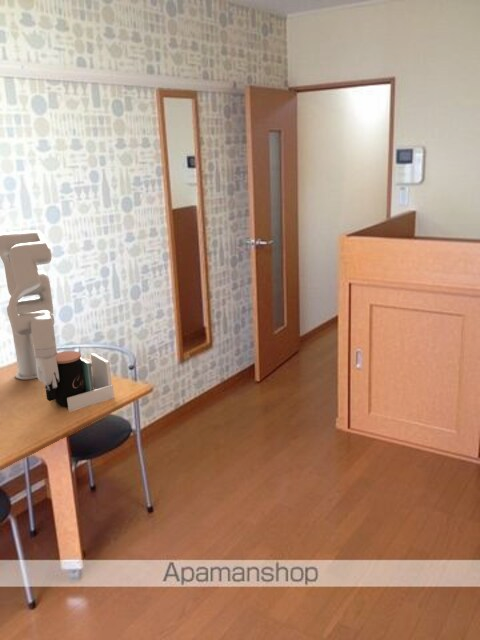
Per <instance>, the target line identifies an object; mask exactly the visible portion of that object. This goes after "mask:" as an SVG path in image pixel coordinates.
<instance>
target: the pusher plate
mask: <svg viewBox="0 0 480 640" xmlns="http://www.w3.org/2000/svg"><path fill="white" fill-rule="evenodd" d="M80 359H81V362H82V370H83V378H84V387H85V392H89V391H92V390H94V388H93V381H92V373H91V364H90V362H88V361H86V360H85V359H83V358H81V357H80Z"/></svg>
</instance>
